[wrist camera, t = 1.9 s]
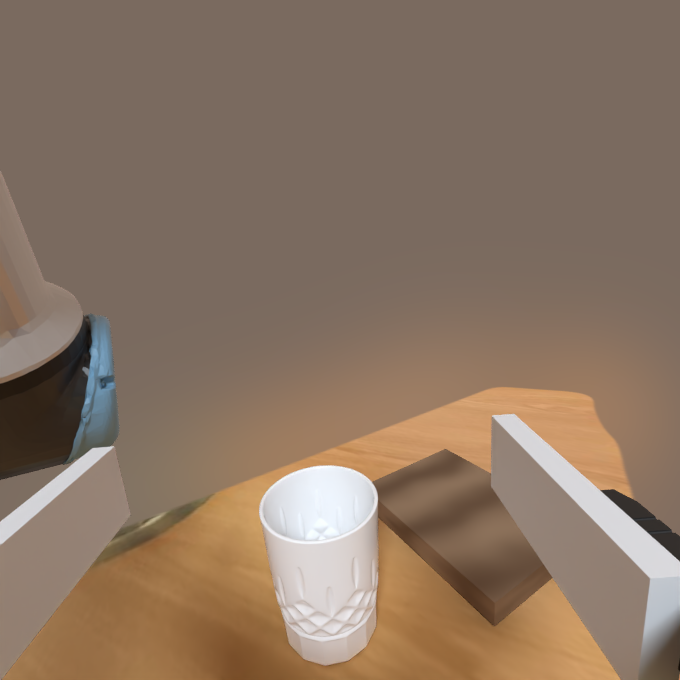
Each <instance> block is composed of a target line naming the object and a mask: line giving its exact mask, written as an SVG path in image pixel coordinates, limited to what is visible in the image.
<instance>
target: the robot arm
mask: <svg viewBox="0 0 680 680" xmlns="http://www.w3.org/2000/svg"><path fill="white" fill-rule="evenodd" d="M118 434H119V416H118V406H117V395H116V386H115V374H114V361H113V350H112V340H111V331H110V322H109V320H108V318H106V317H105V316H100V315H93V314H88V315H85V316H84V315H83V312H82V309H81V307H80V305H79V303H78V301H77V299H76V298H75V297H74V296H73V295H72V294H71V293H70V292H68V291H67V290H65V289H64V288H61V287H59V286H57V285H55V284H51V283H49V282H45V281H44V279H43V276H42V274H41V271H40V269H39V266H38V264H37V261H36V259H35V256H34V254H33V251H32V249H31V246H30V244H29V241H28V239H27V236H26V234H25V231H24V228H23V226H22V224H21V221H20V219H19V216H18V213H17V211H16V208H15V206H14V203H13V201H12V198H11V196H10V193H9V191H8V188H7V185H6V183H5V180H4V178H3V175H2V173H1V170H0V480H1V479H5V478H9V477H13V476H17V475H21V474H25V473H29V472H33V471H37V470H40V469H45V468H48V467H53V466H56V465H60V464H63V465H64V464H68V463H71V462H72V461H73V460H74V459H77V458H80V457H81V458H80V459H78V460H77V461H76V462H75V463H73V464H72V465H71V466H70V467H68V468H67V469H66V470H65V471H63V472H62V473H61V474H60V475H58V476H57V477H56V478H54V479H53V480H52V481H51V482H49V483H48V484H47V485H46V486H44V487H43V488H42V489H41V490H39V491H38V492H37V493H36V494H34V495H33V496H32V497H31V498H29V499H28V500H27V501H26V502H24V503H23V504H22V505H21V506H19V507H18V508H17V509H16V510H14V511H13V512H12V513H11V514H9V515H8V516H7V517H5V518H4V519H3V520H2V521H1V522H0V680H2V678H3V677H4V676H5V675H6V673H7V672H8V671H9V670H10V668H11V667H12V666H13V664H14V663H15V662H16V661H17V659H18V658H19V657H20V656H21V654H22V653H23V652H24V650H25V649H26V648H27V647H28V645H29V644H30V643H31V642H32V640H33V639H34V638H35V636H36V635H37V634H38V633H39V631H40V630H41V629H42V628H43V626H44V625H45V624H46V622H47V621H48V620H49V619H50V617H51V616H52V615H53V614H54V612H55V611H56V610H57V608H58V607H59V606H60V605H61V603H62V602H63V601H64V600H65V598H66V597H67V596H68V594H69V593H70V592H71V591H72V589H73V588H74V587H75V586H76V584H77V583H78V582H79V581H80V579H81V578H82V577H83V575H84V574H85V573H86V572H87V570H88V569H89V568H90V567H91V565H92V564H93V563H94V561H95V560H96V559H97V558H98V556H99V555H100V554H101V553H102V551H103V550H104V549H105V547H106V546H107V545H108V544H109V542H110V541H111V540H112V539H113V537H114V536H115V535H116V533H117V532H118V531H119V530H120V528H121V527H122V526H123V525H124V523H125V522H126V521H127V519H128V518H129V517H130V516H131V513H130V509H129V505H128V501H127V497H126V492H125V488H124V484H123V480H122V475H121V471H120V467H119V463H118V459H117V455H116V450H115V447H114V446H112V447H110V446H111V445H112V444H113V443H114V441H115V440H116V439H117V437H118ZM491 487H492V488H493V490H494V491H495V493H496V494H497V496H498V497H499V499H500V500H501V502H502V503H503V505H504V506H505V508H506V509H507V511H508V512H509V514H510V515H511V517H512V518H513V520H514V521H515V523H516V524H517V526H518V527H519V529H520V530H521V531H522V533H523V534H524V536H525V537H526V539H527V540H528V542H529V543H530V545H531V546H532V548H533V549H534V551H535V552H536V554H537V555H538V557H539V558H540V560H541V561H542V563H543V564H544V566H545V567H546V569H547V570H548V572H549V573H550V575H551V576H552V578H553V579H554V580H555V582H556V583H557V585H558V586H559V588H560V589H561V591H562V592H563V594H564V595H565V597H566V598H567V600H568V601H569V603H570V604H571V606H572V607H573V609H574V610H575V612H576V613H577V615H578V616H579V618H580V619H581V621H582V622H583V624H584V625H585V627H586V628H587V629H588V631H589V632H590V634H591V635H592V637H593V638H594V640H595V641H596V643H597V644H598V646H599V647H600V649H601V650H602V652H603V653H604V655H605V656H606V658H607V659H608V661H609V662H610V664H611V665H612V667H613V668H614V670H615V671H616V673H617V674H618V675H619V677H620V678H621V680H679V674H680V536H679V535H677V534H676V533H672V531H671V529H670V528H669V527H668V526H666V525H665V524H664V523H662V522H661V521H660V520H657V519H656V518H655V516H654V515H653V514H651V513H650V512H649V511H648V510H647V509H646V508H644V507H643V506H642V505H641V504H639V503H638V502H637V501H635V500H633V499H631V498H629V497H627V496H625V495H623V494H621V493H619V492H618V491H616V490H614V489H612V490H599V489H598V488H597V487H595V486H594V485H593V484H592V483H591V482H590V481H589V480H588V479H586V478H585V477H584V476H583V475H582V474H581V473H580V472H579V471H577V470H576V469H575V468H574V467H573V466H572V465H571V464H570V463H568V462H567V461H566V460H565V459H564V458H563V457H562V456H561V455H560V454H558V453H557V452H556V451H555V450H554V449H553V448H552V447H551V446H549V445H548V444H547V443H546V442H545V441H544V440H543V439H542V438H540V437H539V436H538V435H537V434H536V433H535V432H534V431H533V430H531V429H530V428H529V427H528V426H527V425H526V424H525V423H524V422H522V421H521V420H520V419H519V418H518V417H517V416H516V415H515V414H507V415H495V416H492V441H491Z"/></svg>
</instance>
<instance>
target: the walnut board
mask: <svg viewBox="0 0 680 680" xmlns="http://www.w3.org/2000/svg"><path fill="white" fill-rule="evenodd" d="M372 483H373V484H374V486H375V488H376V490H377V494H378V517H379V518H380V519H381V520H382V521H383V522H384V523H385V524H386V525H387V526H388V527H390V528H391V529H392V530H393V531H394V532H395V533H396V534H397V535H398V536H399V537H400V538H401V539H402V540H403V541H404V542H405V543H406V544H408V545H409V546H410V547H411V548H412V549H413V550H414V551H415V552H416V553H417V554H418V555H419V556H420V557H421V558H422V559H423V560H424V561H426V562H427V563H428V564H429V565H430V566H431V567H432V568H433V569H434V570H435V571H436V572H437V573H438V574H439V575H440V576H441V577H442V578H444V579H445V580H446V581H447V582H448V583H449V584H450V585H451V586H452V587H453V588H454V589H455V590H456V591H457V592H458V593H459V594H461V595H462V596H463V597H464V598H465V599H466V600H467V601H468V602H469V603H470V604H471V605H472V606H473V607H474V608H475V609H476V610H477V611H479V612H480V613H481V614H482V615H483V616H484V617H485V618H486V619H487V620H488V621H489V622H490V623H491V624H492V625H493V626H495V625H497V624H498V623H499V622H500V621H501V620H503V619H504V618H505V617H506V616H507V615H508V614H510V613H511V612H512V611H513V610H514V609H516V608H517V607H518V606H519V605H520V604H522V603H523V602H524V601H525V600H526V599H528V598H529V597H530V596H531V595H532V594H533V593H535V592H536V591H537V590H538V589H539V588H541V587H542V586H543V585H544V584H545V583H547V582H548V581H549V580H550V579H551V578H552V576H551V575H550V573H549V572H548V570H547V569H546V567H545V566H544V564H543V563H542V561H541V560H540V558H539V557H538V555H537V554H536V552H535V551H534V549H533V548H532V546H531V545H530V543H529V542H528V540H527V539H526V537H525V536H524V534H523V533H522V531H521V530H520V529H519V527H518V526H517V524H516V523H515V521H514V520H513V518H512V517H511V515H510V514H509V512H508V511H507V509H506V508H505V506H504V505H503V503H502V502H501V500H500V499H499V497H498V496H497V494H496V493H495V491H494V490H493V488H492V487H491V473H489V472H487V471H485V470H483V469H481V468H480V467H478V466H476V465H474V464H472V463H470V462H469V461H467V460H465V459H463V458H461V457H459V456H458V455H456V454H454V453H452V452H450V451H448V450H447V449H444V450H442V451H440V452H438V453H436V454H433V455H431V456H429V457H427V458H424V459H422V460H420V461H418V462H416V463H413V464H411V465H409V466H407V467H404V468H402V469H400V470H398V471H395V472H393V473H391V474H389V475H387V476H384V477H382V478H380V479H378V480H375V481H373V482H372Z"/></svg>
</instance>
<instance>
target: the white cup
mask: <svg viewBox="0 0 680 680" xmlns="http://www.w3.org/2000/svg"><path fill="white" fill-rule="evenodd" d="M259 515H260V520H261V525H262V530H263V535H264V540H265V545H266V550H267V555H268V560H269V566H270V571H271V575H272V578H273V583H274V589H275V592H276V596H277V601H278V605H279V607H280V609H281V612H282V616H283V621H284V626H285V630H286V634H287V638H288V642H289V644H290V646H291V647H292V648H293V649H294V650H295V651H296V652H297V653H298V654H299V655H300V656H301V657H302V658H303V659H304V660H307V661H311V662H314V663H318V664H321V665H324V666H327V665H331V664H336V663H341V662H345V661H349V660H350V659H351V658H352V657H354V656H355V655H356V654H358V653H359V652H360V651H361V650H363V649H364V648H365V647H366V646H367V644H368V642H369V640H370V638H371V636H372V634H373V632H374V630H375V628H376V596H377V589H378V557H379V546H378V494H377V490H376V488H375V486H374V484H373V483H372V482H371V481H370V480H369V479H368V478H367V477H366V476H365V475H363V474H361V473H360V472H358V471H355V470H353V469H350V468H346V467H341V466H330V465H326V466H314V467H309V468H305V469H301V470H298V471H295V472H293V473H290V474H288V475H286V476H285V477H283V478H281V479H280V480H278V481H277V482H276V483H274V484H273V485H272V486H271V487H270V488H269V489H268V490H267V492H266V493H265V494H264V496H263V498H262V500H261V503H260V507H259Z"/></svg>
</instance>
